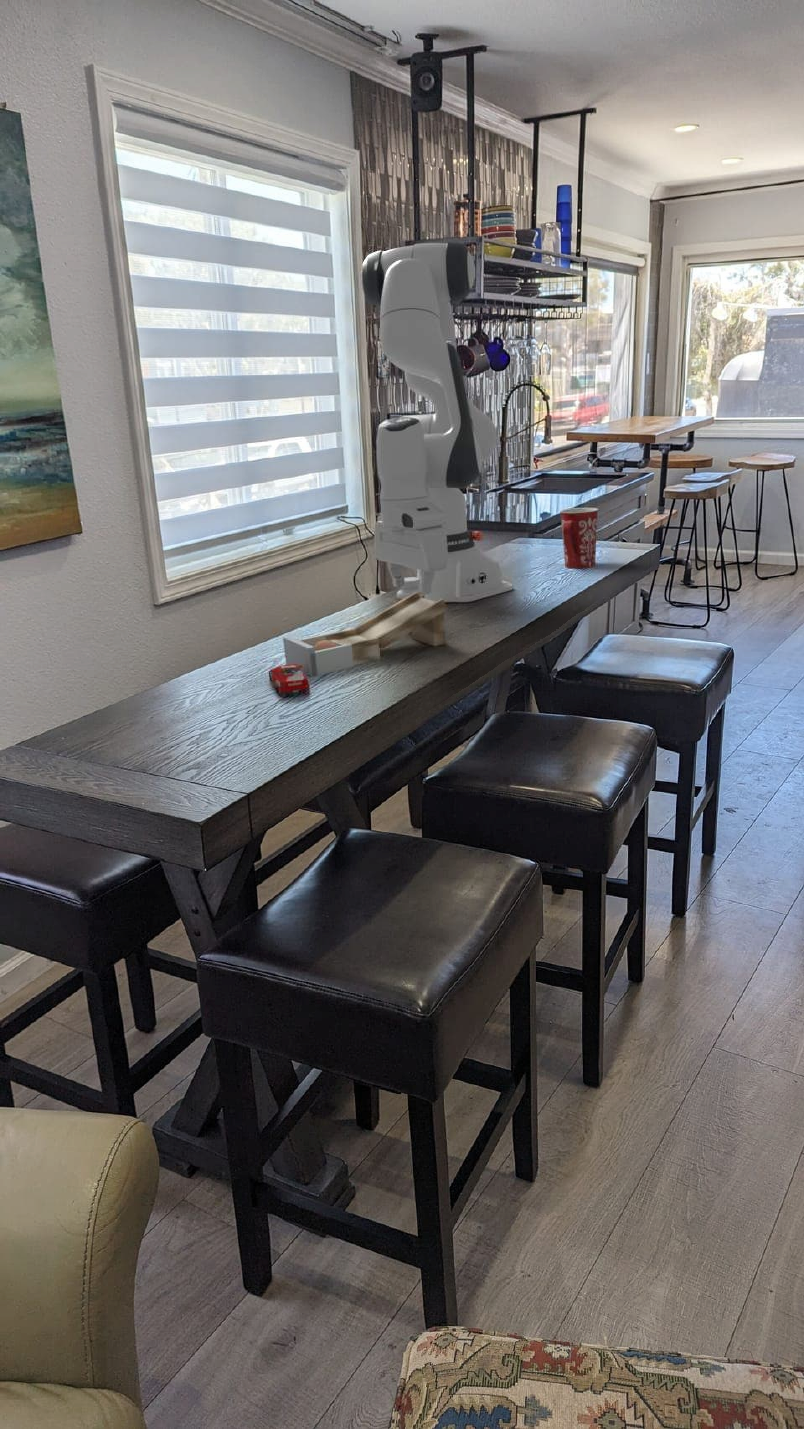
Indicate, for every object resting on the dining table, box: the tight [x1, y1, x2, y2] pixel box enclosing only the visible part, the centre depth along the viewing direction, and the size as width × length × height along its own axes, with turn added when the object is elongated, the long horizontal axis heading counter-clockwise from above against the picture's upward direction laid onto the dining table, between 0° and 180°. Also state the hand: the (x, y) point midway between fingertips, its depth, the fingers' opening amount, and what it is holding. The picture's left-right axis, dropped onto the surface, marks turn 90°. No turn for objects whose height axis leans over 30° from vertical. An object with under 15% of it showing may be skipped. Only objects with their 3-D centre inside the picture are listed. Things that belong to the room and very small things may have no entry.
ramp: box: [325, 592, 448, 666], centre depth 178 cm, size 20×10×8 cm, turn 120°
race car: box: [268, 664, 311, 697], centre depth 162 cm, size 13×5×4 cm, turn 15°
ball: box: [314, 640, 336, 651], centre depth 173 cm, size 4×4×4 cm
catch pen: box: [282, 633, 355, 678], centre depth 172 cm, size 8×10×5 cm
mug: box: [559, 507, 599, 569], centre depth 237 cm, size 13×9×14 cm
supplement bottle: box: [396, 576, 425, 603], centre depth 192 cm, size 5×5×10 cm
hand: (411, 590), depth 179 cm, fingers open, 8 cm apart
